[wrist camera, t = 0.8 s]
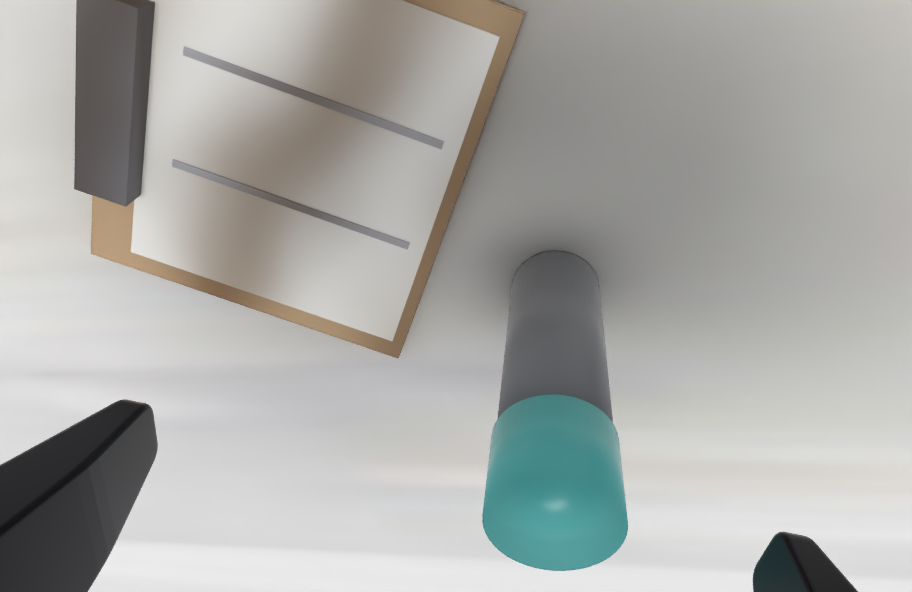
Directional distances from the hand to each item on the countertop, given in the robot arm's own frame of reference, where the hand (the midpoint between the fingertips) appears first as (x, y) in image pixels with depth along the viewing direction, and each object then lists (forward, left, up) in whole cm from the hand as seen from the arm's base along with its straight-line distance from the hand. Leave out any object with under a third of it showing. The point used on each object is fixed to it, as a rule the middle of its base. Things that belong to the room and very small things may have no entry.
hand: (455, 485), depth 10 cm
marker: (-3, +3, -12) cm, 13 cm away
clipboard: (+7, +2, -12) cm, 14 cm away
